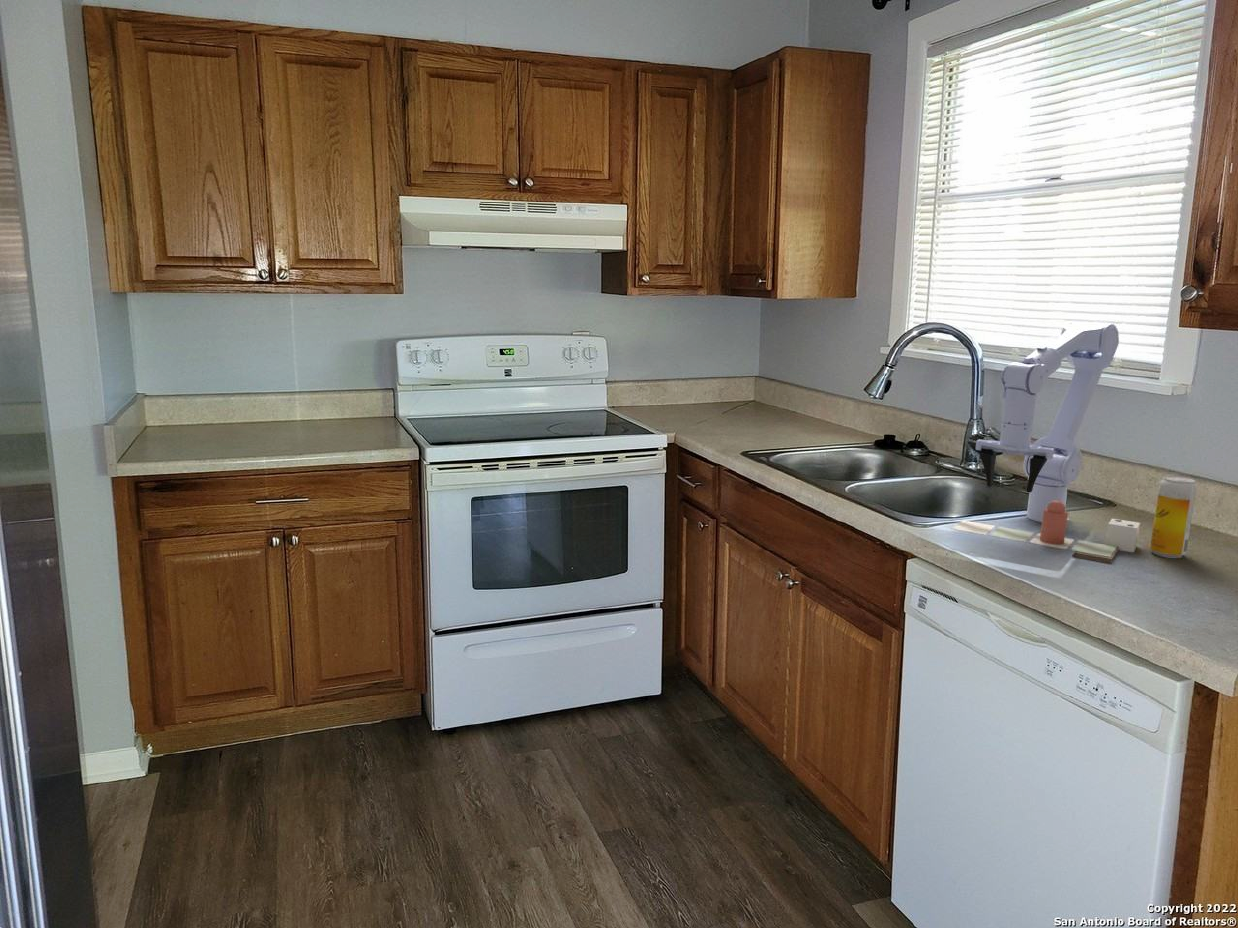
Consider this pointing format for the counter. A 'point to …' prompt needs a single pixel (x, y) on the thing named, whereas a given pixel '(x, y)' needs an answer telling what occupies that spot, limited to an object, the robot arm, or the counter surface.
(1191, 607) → the counter surface
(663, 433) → the counter surface
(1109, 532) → the die
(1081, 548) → the board
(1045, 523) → the pawn
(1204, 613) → the counter surface
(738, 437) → the counter surface
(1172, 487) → the beer can
